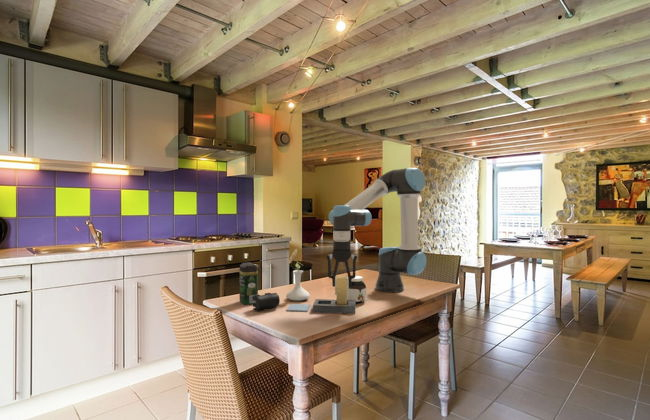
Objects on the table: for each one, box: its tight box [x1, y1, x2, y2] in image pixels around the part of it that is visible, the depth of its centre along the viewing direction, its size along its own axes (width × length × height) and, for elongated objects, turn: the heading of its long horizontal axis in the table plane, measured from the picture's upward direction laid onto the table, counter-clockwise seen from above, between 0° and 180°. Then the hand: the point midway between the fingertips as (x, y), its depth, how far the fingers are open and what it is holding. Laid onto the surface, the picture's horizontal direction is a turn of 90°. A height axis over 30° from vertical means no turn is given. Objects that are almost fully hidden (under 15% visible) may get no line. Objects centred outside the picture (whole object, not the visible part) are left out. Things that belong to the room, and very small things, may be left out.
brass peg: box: [336, 275, 348, 305], centre depth 152 cm, size 4×4×12 cm
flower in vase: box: [285, 248, 311, 302], centre depth 168 cm, size 13×11×25 cm
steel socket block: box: [312, 298, 357, 315], centre depth 152 cm, size 18×10×3 cm, turn 84°
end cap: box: [252, 292, 281, 313], centre depth 152 cm, size 10×7×7 cm
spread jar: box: [347, 275, 367, 305], centre depth 167 cm, size 12×11×12 cm
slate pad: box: [286, 303, 311, 313], centre depth 154 cm, size 9×9×1 cm
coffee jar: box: [239, 261, 259, 306], centre depth 163 cm, size 10×8×19 cm
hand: (341, 293), depth 152 cm, fingers closed on brass peg, 4 cm apart
